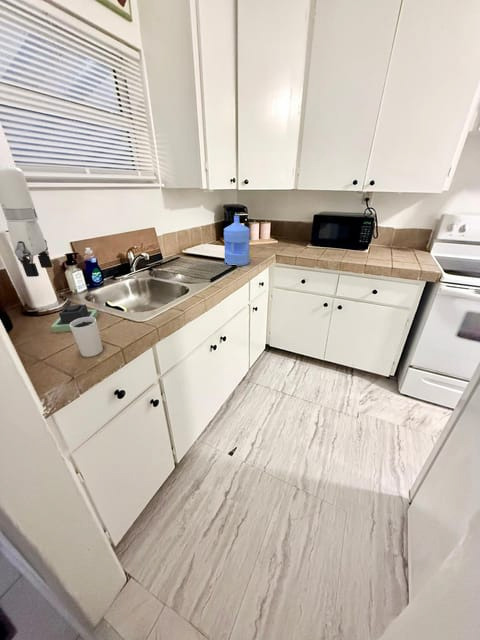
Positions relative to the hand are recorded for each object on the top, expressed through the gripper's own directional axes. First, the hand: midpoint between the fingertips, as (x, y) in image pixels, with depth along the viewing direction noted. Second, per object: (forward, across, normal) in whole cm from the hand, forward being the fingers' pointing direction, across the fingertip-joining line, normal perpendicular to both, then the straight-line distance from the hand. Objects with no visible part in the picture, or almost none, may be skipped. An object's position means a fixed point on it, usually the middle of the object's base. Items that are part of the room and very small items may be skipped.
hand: (40, 271), depth 84 cm
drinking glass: (+20, +20, +17) cm, 33 cm away
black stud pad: (+18, 0, +6) cm, 19 cm away
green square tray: (+20, 0, +6) cm, 20 cm away
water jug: (+18, -66, +78) cm, 104 cm away
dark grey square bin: (+17, 0, +6) cm, 18 cm away
